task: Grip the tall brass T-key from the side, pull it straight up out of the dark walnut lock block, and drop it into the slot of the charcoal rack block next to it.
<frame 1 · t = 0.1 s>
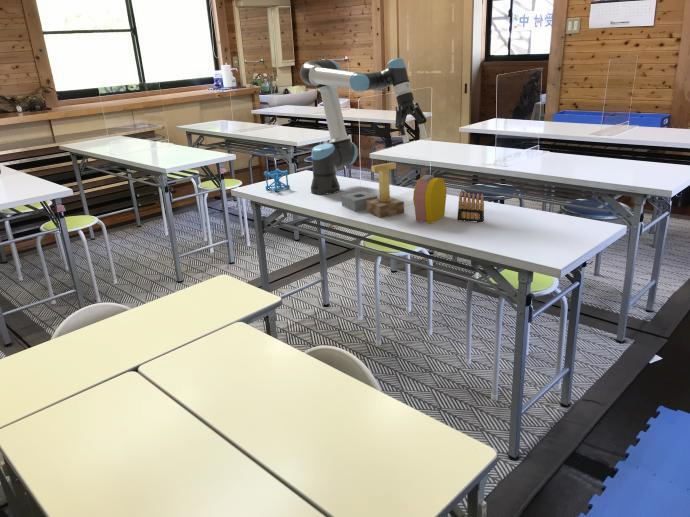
hand: (415, 140, 248), 28 cm above the table, tool tilted 20°, fingers open, 13 cm apart
ammunition clip: (470, 221, 223), on the table
t key: (384, 188, 236), in the lock block
alarm clock: (429, 218, 229), on the table
rack block: (359, 206, 251), on the table
molecular structure: (277, 189, 291), on the table
lock block: (384, 212, 240), on the table
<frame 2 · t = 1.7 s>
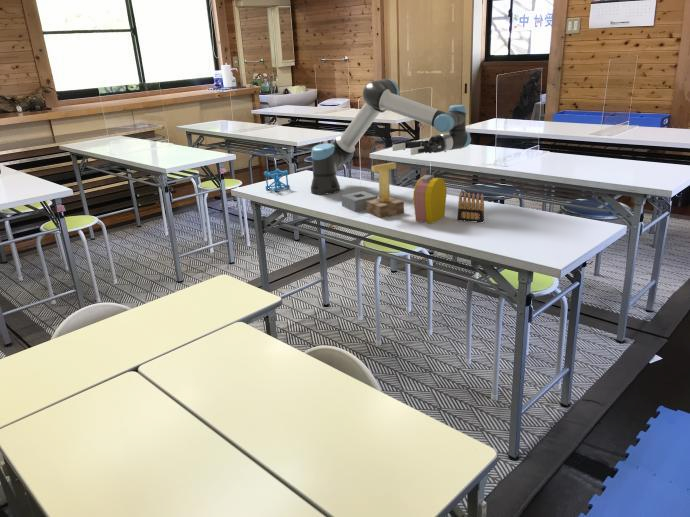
hand: (401, 149, 235), 26 cm above the table, tool horizontal, fingers open, 13 cm apart
nothing on the table moved.
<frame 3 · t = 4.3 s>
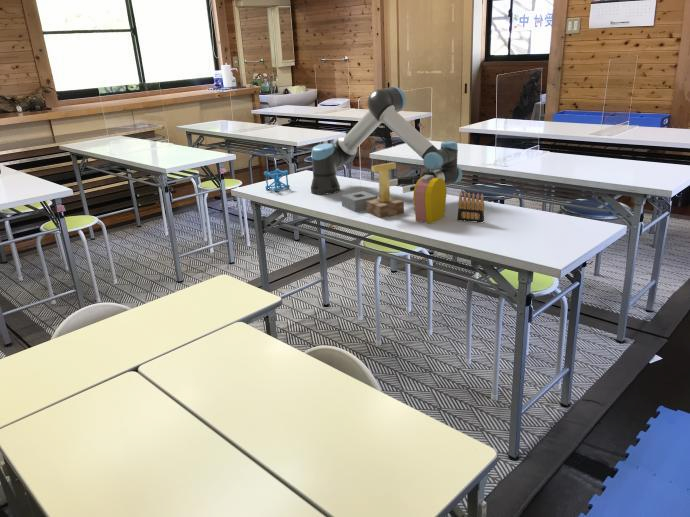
hand: (394, 187, 238), 11 cm above the table, tool horizontal, fingers open, 13 cm apart
nothing on the table moved.
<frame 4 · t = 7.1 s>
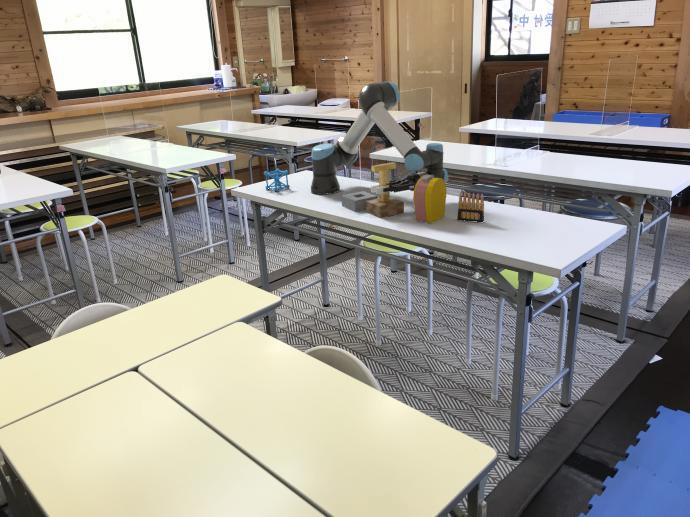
hand: (373, 190, 234), 11 cm above the table, tool horizontal, fingers closed on t key, 3 cm apart
t key: (384, 188, 236), in the lock block, touching gripper
everything else where it was.
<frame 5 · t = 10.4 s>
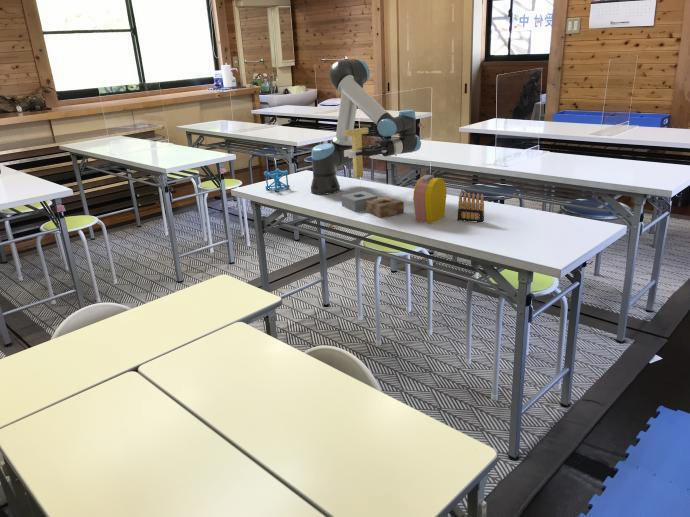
hand: (346, 154, 240), 25 cm above the table, tool horizontal, fingers closed on t key, 3 cm apart
t key: (357, 153, 242), point 24 cm above the table, touching gripper
everything else where it was.
when the fingers open (12 cm above the table, at t = 13.8 s): t key drops 1 cm, resting in rack block.
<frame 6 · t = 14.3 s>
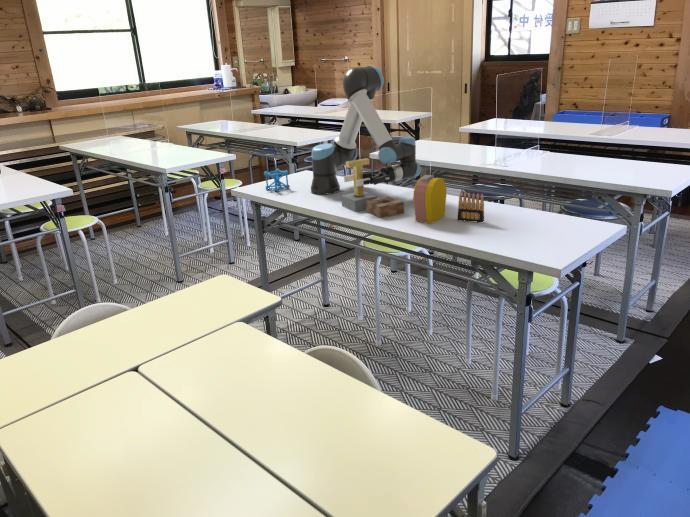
hand: (350, 181, 245), 12 cm above the table, tool horizontal, fingers open, 10 cm apart
t key: (358, 183, 248), in the rack block
everything else where it was.
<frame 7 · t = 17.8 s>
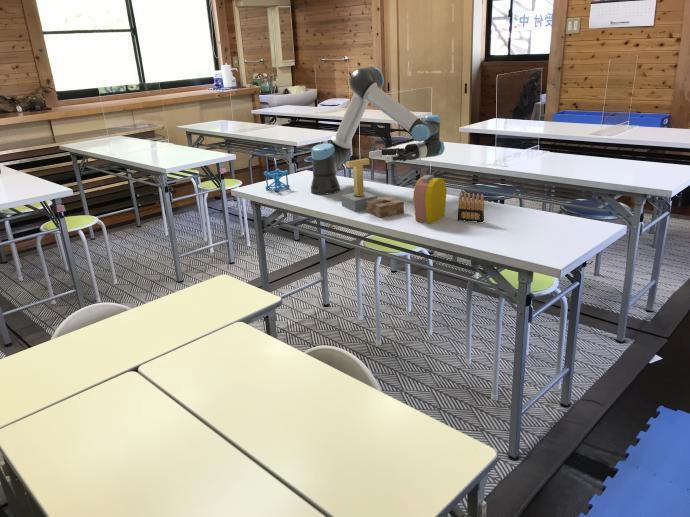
hand: (377, 157, 248), 22 cm above the table, tool horizontal, fingers open, 13 cm apart
nothing on the table moved.
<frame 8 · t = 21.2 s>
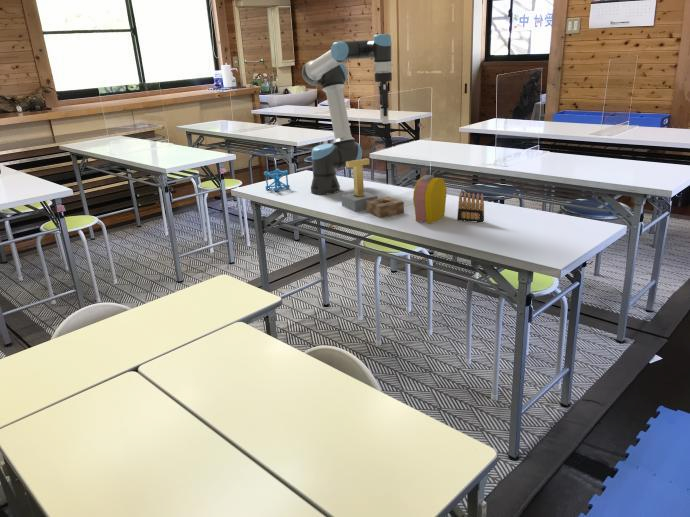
hand: (384, 121, 245), 37 cm above the table, tool pointing down, fingers open, 13 cm apart
nothing on the table moved.
at the end: t key 0.0 cm off-centre on the rack block, point 10.7 cm above the rack block's base; t key tilted 0°; the gripper is holding nothing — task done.
